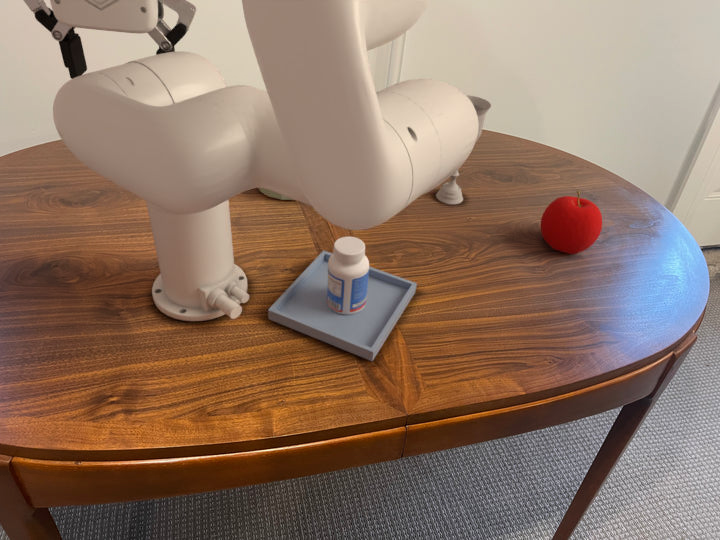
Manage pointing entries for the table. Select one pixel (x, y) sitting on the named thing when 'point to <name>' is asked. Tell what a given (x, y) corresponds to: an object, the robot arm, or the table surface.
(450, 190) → the chalice
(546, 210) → the fruit
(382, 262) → the table surface
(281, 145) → the robot arm
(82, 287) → the table surface
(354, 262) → the pill bottle
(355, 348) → the tray
